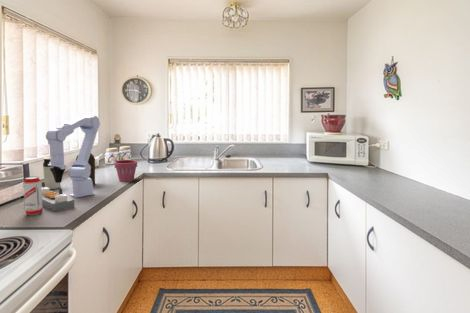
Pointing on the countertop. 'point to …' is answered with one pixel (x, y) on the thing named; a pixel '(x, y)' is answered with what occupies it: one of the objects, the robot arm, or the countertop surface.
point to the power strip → (56, 203)
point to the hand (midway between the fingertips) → (58, 182)
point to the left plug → (44, 190)
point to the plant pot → (126, 169)
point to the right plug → (60, 196)
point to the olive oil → (92, 164)
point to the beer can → (33, 195)
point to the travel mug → (49, 175)
